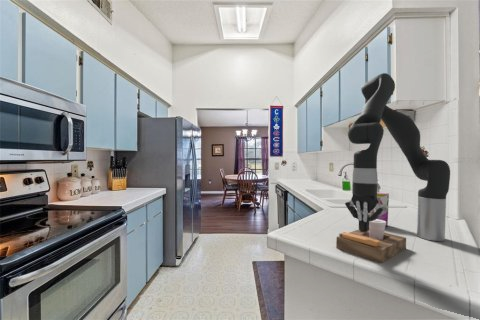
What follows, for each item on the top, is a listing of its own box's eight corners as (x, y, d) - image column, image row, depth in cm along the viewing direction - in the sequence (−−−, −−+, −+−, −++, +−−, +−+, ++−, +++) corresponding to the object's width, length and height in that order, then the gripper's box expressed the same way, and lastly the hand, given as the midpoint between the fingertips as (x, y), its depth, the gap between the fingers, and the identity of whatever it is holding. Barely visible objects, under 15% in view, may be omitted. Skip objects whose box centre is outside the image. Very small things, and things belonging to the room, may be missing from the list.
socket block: (364, 237, 98) (364, 227, 98) (406, 248, 86) (406, 237, 86) (336, 247, 85) (336, 236, 85) (380, 263, 73) (381, 250, 73)
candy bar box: (362, 223, 119) (363, 191, 119) (363, 221, 123) (363, 190, 123) (388, 227, 113) (388, 193, 113) (388, 225, 117) (388, 192, 117)
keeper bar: (343, 235, 87) (343, 231, 87) (379, 244, 77) (379, 241, 77) (339, 236, 85) (339, 233, 85) (375, 246, 75) (375, 242, 75)
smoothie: (362, 243, 90) (363, 207, 90) (378, 243, 91) (379, 207, 91) (373, 249, 84) (374, 211, 84) (390, 249, 84) (391, 211, 84)
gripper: (340, 180, 83) (339, 229, 83) (381, 183, 72) (380, 239, 72) (351, 179, 87) (350, 225, 87) (390, 182, 77) (389, 235, 77)
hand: (363, 231), depth 80 cm, fingers closed
